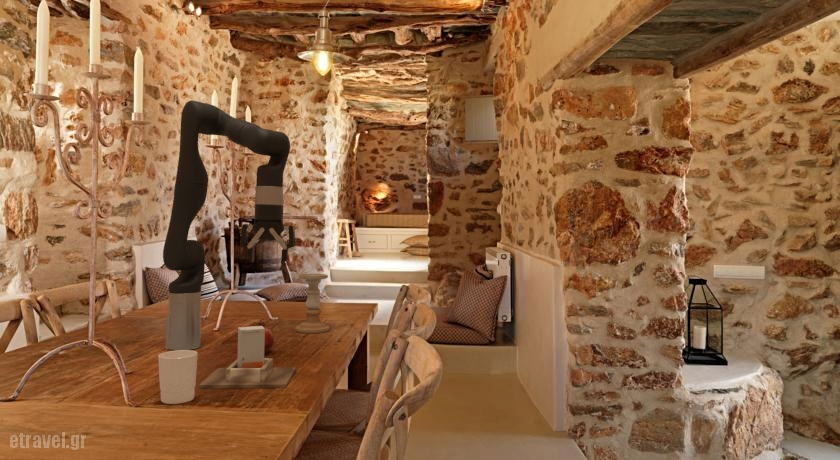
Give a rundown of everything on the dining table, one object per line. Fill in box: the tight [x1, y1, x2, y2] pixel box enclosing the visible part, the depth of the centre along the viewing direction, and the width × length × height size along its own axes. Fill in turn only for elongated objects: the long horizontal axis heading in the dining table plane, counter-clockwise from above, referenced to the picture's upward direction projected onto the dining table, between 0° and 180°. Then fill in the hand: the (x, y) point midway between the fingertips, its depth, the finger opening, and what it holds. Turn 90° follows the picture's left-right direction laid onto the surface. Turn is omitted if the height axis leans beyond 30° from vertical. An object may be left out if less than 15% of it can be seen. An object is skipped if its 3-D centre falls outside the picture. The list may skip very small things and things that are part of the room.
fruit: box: [255, 319, 275, 354], centre depth 168 cm, size 9×10×10 cm
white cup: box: [157, 349, 199, 405], centre depth 124 cm, size 8×8×10 cm
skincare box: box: [237, 325, 265, 368], centre depth 140 cm, size 6×4×12 cm
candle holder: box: [295, 273, 331, 334], centre depth 205 cm, size 12×12×20 cm
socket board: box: [198, 357, 297, 390], centre depth 140 cm, size 20×16×4 cm
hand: (267, 262), depth 154 cm, fingers open, 8 cm apart
